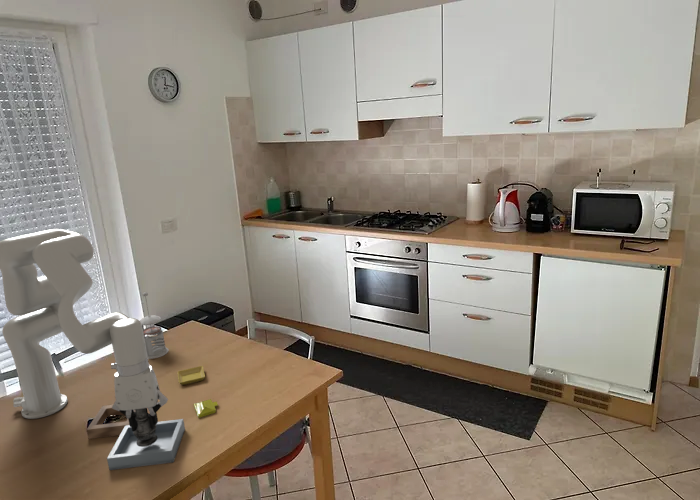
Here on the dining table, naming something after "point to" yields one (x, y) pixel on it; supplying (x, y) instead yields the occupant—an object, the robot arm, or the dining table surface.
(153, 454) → the tray
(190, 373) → the yellow shallow rimmed piece
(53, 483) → the dining table surface
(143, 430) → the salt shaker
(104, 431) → the hollow square frame
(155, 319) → the french press
